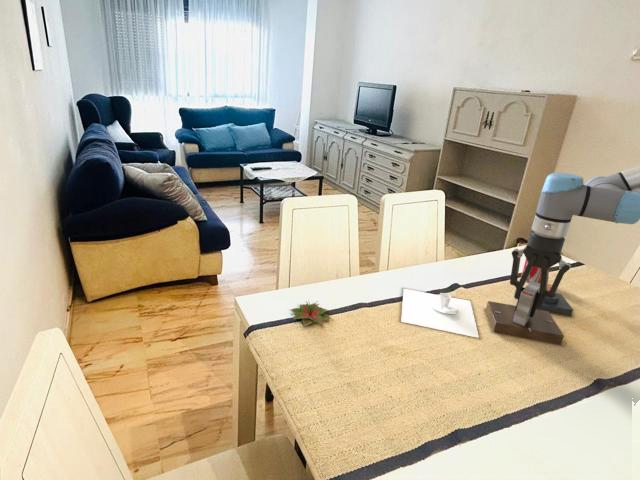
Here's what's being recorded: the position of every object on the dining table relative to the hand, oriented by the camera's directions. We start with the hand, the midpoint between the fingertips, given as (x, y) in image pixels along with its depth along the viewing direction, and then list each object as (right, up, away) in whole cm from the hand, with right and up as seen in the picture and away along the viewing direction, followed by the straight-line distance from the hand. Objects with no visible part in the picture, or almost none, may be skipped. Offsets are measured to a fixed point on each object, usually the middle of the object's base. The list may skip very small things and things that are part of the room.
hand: (524, 312), depth 107 cm
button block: (+14, 0, +13) cm, 19 cm away
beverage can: (+20, +5, +28) cm, 35 cm away
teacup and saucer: (-21, -1, +8) cm, 23 cm away
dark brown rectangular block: (0, -4, +2) cm, 5 cm away
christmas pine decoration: (-59, -2, +3) cm, 59 cm away
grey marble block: (0, -1, 0) cm, 1 cm away
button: (+14, +3, +12) cm, 19 cm away
